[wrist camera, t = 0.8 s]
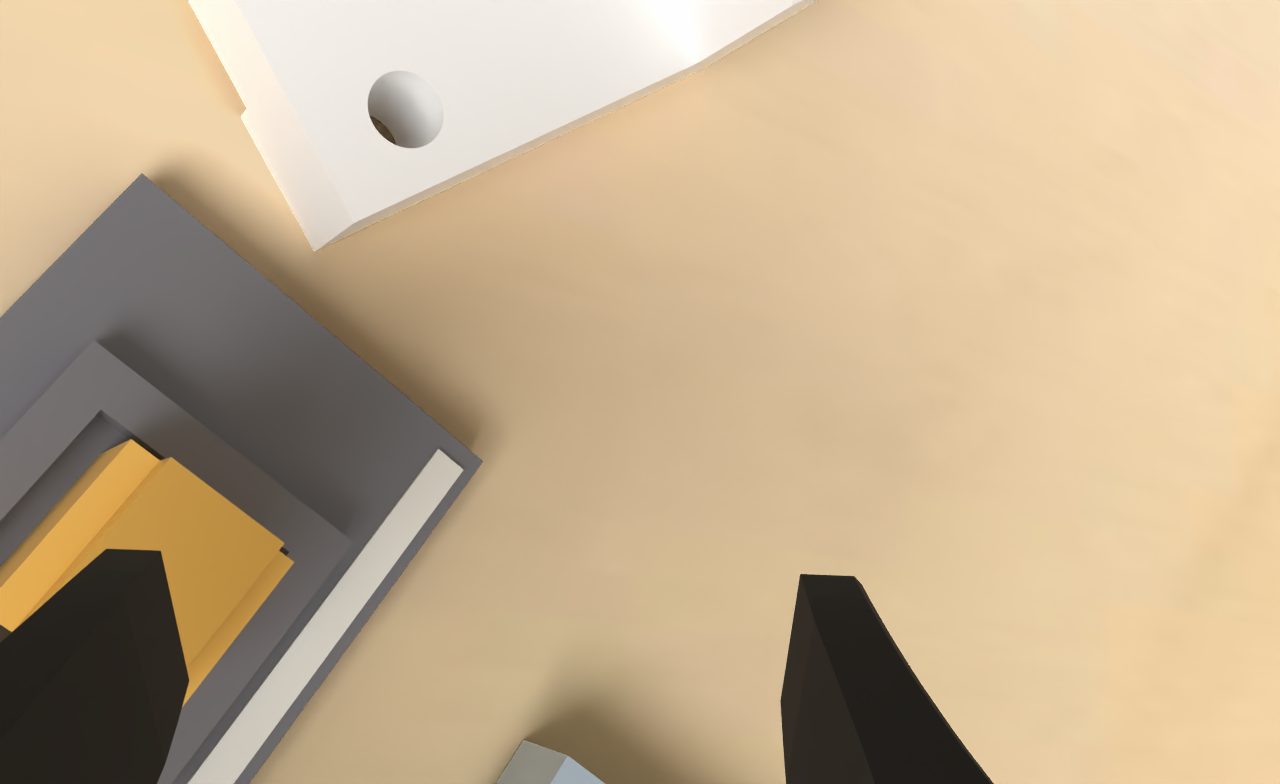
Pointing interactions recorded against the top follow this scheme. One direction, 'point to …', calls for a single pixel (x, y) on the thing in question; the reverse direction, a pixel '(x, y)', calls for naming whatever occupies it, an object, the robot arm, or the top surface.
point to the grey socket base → (223, 447)
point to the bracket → (446, 85)
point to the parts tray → (544, 768)
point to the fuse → (152, 520)
